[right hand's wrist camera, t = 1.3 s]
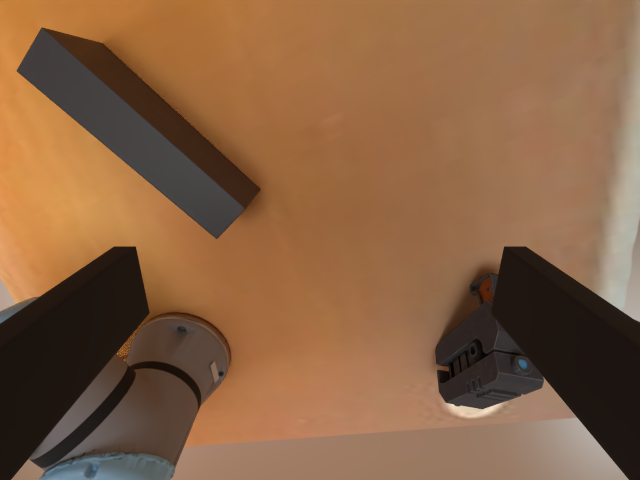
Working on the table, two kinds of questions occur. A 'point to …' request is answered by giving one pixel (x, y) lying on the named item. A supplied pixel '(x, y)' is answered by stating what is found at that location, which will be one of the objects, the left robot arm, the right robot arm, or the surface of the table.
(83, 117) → the bar
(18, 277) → the table surface
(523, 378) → the tool
